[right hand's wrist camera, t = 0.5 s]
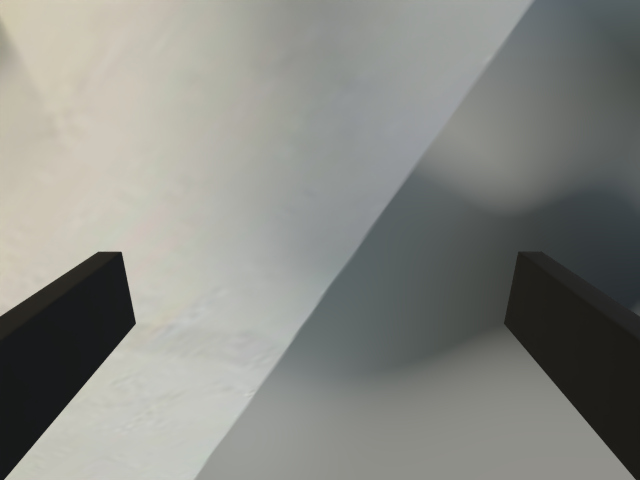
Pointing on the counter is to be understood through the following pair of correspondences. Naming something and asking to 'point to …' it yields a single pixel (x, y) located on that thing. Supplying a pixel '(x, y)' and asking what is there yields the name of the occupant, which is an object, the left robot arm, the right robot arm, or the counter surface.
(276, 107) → the counter surface
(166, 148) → the counter surface
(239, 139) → the counter surface
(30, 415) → the right robot arm
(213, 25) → the counter surface
